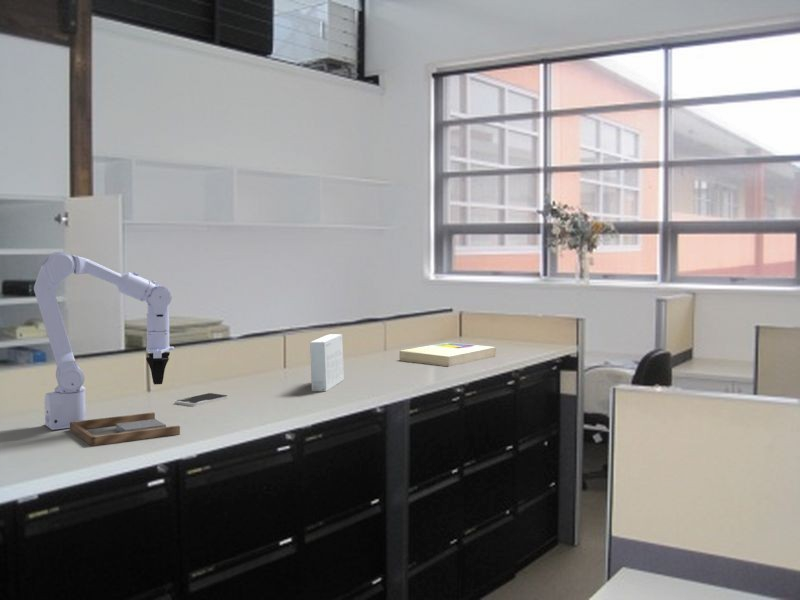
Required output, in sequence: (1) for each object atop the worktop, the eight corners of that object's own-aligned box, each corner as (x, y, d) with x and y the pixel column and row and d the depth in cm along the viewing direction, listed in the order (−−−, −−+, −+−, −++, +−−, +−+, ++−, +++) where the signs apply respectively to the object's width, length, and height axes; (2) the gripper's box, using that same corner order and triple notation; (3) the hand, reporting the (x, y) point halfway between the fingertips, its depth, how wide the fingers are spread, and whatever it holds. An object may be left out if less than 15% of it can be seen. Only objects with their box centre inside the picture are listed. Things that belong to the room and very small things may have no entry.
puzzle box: (398, 361, 328) (448, 367, 313) (398, 350, 327) (448, 355, 313) (449, 352, 356) (497, 357, 342) (449, 342, 356) (497, 346, 342)
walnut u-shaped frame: (91, 446, 189) (91, 437, 189) (70, 429, 205) (70, 422, 205) (179, 434, 202) (179, 426, 202) (153, 419, 217) (153, 412, 217)
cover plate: (125, 438, 199) (125, 429, 199) (115, 431, 206) (115, 423, 206) (166, 432, 205) (165, 424, 205) (155, 426, 212) (154, 419, 212)
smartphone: (228, 395, 248) (193, 403, 235) (228, 400, 248) (193, 408, 235) (209, 393, 251) (173, 400, 238) (209, 397, 252) (173, 405, 239)
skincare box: (328, 380, 281) (328, 333, 280) (344, 380, 280) (344, 334, 279) (309, 391, 261) (309, 341, 259) (326, 391, 260) (326, 341, 258)
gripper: (173, 333, 212) (173, 386, 213) (174, 327, 226) (174, 376, 227) (144, 333, 210) (145, 386, 211) (147, 327, 224) (147, 377, 225)
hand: (158, 381), depth 219 cm, fingers open, 7 cm apart
